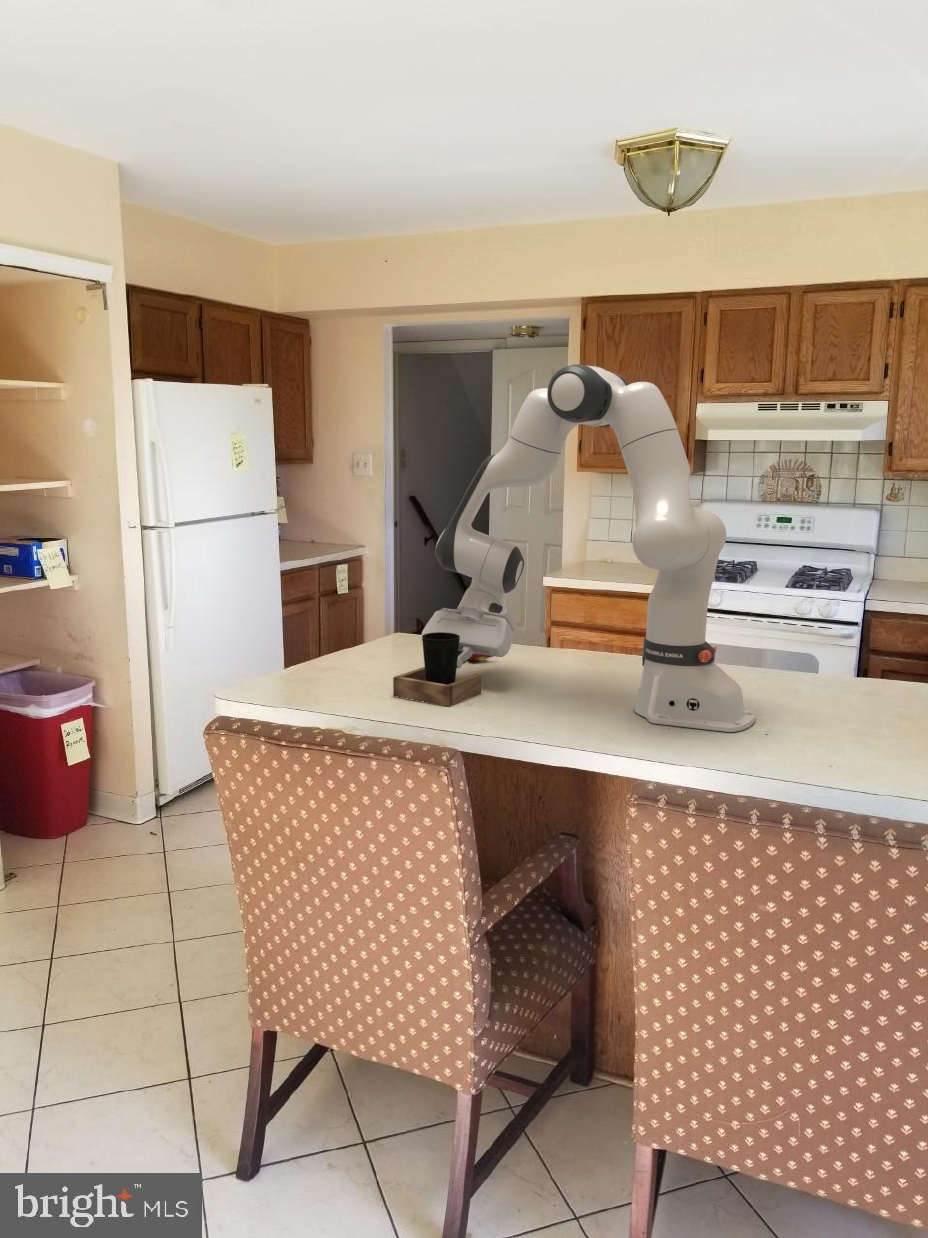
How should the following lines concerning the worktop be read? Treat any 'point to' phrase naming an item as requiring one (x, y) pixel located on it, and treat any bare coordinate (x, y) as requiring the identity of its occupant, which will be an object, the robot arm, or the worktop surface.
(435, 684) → the bay
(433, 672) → the cup
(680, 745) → the worktop surface
